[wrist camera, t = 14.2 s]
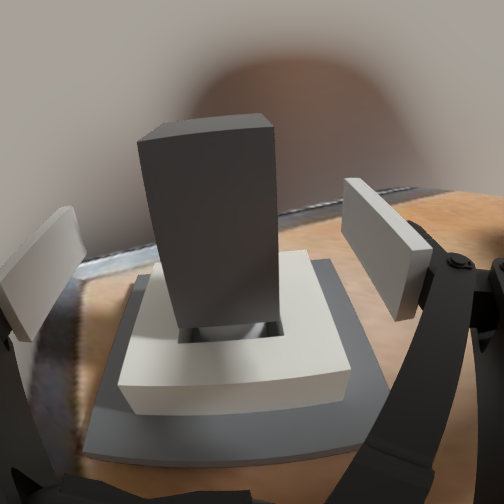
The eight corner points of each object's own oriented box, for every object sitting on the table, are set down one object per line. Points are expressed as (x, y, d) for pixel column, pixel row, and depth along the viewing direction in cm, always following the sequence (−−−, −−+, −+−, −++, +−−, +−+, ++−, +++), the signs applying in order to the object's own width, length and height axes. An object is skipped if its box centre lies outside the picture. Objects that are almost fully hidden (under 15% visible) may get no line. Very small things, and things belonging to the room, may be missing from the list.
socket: (329, 267, 30) (331, 229, 28) (400, 438, 14) (423, 402, 12) (140, 283, 29) (130, 247, 27) (89, 458, 14) (56, 425, 12)
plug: (270, 310, 24) (261, 113, 17) (280, 366, 19) (274, 126, 12) (197, 316, 24) (163, 123, 16) (192, 373, 19) (136, 141, 12)
